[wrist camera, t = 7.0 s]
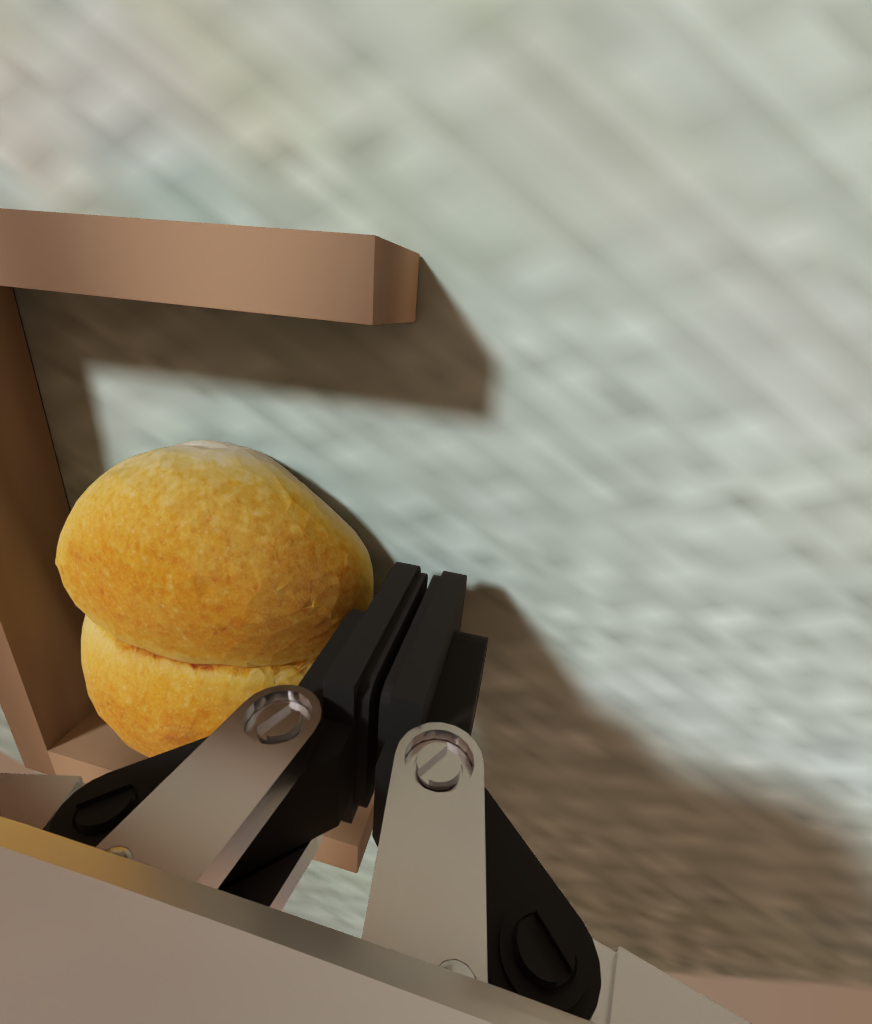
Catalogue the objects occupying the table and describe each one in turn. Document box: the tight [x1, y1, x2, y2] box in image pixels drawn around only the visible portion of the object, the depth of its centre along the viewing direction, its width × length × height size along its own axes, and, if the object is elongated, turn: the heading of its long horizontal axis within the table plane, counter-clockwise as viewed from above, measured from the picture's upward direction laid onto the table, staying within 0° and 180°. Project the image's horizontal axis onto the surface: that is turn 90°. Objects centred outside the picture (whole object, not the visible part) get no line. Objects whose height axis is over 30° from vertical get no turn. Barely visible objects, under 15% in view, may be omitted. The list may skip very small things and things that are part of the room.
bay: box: [0, 208, 420, 873], centre depth 12 cm, size 11×15×2 cm
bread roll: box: [55, 440, 373, 758], centre depth 12 cm, size 8×9×4 cm
